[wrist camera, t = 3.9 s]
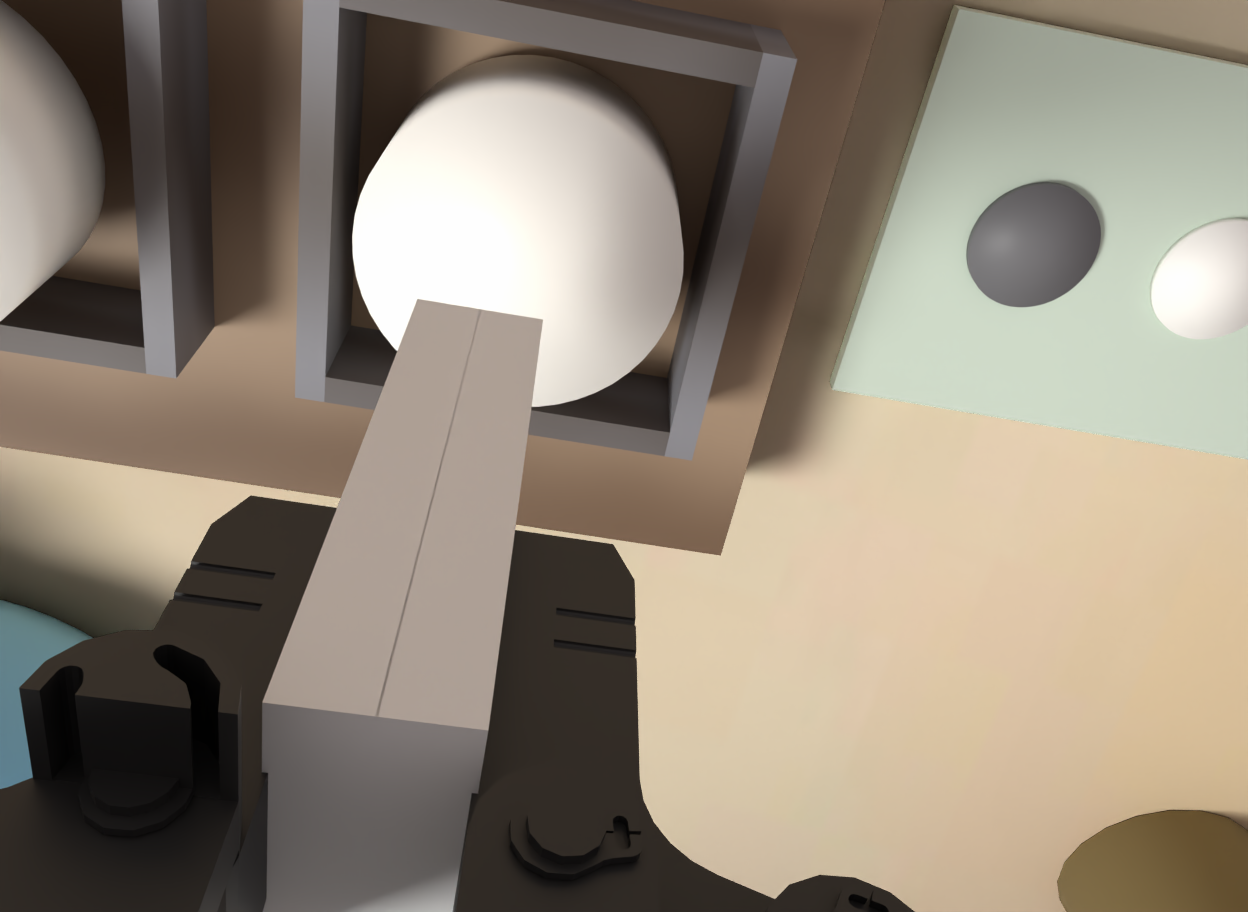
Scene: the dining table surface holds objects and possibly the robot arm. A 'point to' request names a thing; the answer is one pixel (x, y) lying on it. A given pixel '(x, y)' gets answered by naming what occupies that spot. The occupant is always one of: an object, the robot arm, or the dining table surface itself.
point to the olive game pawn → (1160, 866)
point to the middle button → (42, 162)
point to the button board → (323, 226)
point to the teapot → (24, 677)
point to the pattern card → (1066, 240)
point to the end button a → (528, 217)
